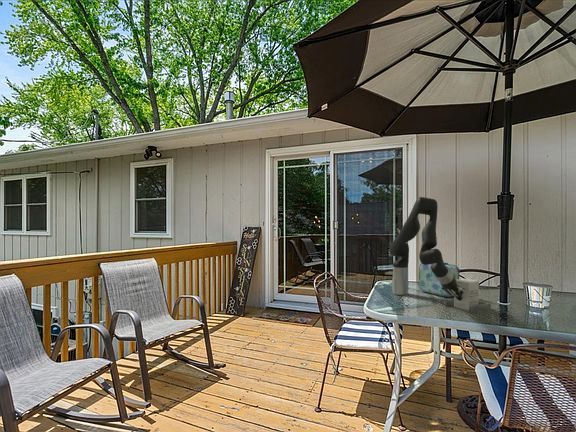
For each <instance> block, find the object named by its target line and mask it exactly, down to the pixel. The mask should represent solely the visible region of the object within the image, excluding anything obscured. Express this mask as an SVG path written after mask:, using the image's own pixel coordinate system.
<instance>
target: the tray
mask: <svg viewBox="0 0 576 432" xmlns="http://www.w3.org/2000/svg"><path fill="white" fill-rule="evenodd" d="M451 306H454V298H451V299H445V300H444V307H451ZM491 309H492V303H491V302H486V301H484V300H483V301H482V300H479V305H476V306H472V307H471V310H470V312H471V313H473V314H476V313H479V312H484V311H488V310H491Z"/></svg>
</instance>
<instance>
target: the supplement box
mask: <svg viewBox="0 0 576 432" xmlns="http://www.w3.org/2000/svg"><path fill="white" fill-rule="evenodd" d="M456 282H457V285H458V286H459V288H464V289H465V290H464V292H463V294H462V300H461V301H459V300H457V299H456V297H455V296H453V299H454V305H453V307H454V308H457V309H461V310H465V311H470V312H471V307H472V306H476V305H479V301H480V299H479V298H480V296H479V295H480V291H479V290H480V281H479V280H474V279H469V278H459V279H456ZM459 292H460V291H459Z"/></svg>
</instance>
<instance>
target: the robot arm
mask: <svg viewBox="0 0 576 432" xmlns="http://www.w3.org/2000/svg"><path fill="white" fill-rule="evenodd" d="M418 215H425V216H429V219H428V221H427V222H426V224H425V225H424V227H423V228H422V231H421V230H420V229H421V224H420V221H419V218H418ZM437 220H438V201H437V200H436V199H433V198H430V197H423V196H420V197H418V198H417V199H416V200H415V202H414V204H413V206H412V208H411V211H410V213H409V215H408V217H407V219H405V222H404V223H403V226H402V227H401V230H399V233H398V234H397V236H396V237H395V238H394V240H393V241H392V242H391V244H390V246H389V253H390V255H391V256H393V257H399V259H397V260H396V261H393V262H392V277H391V293H392V294H393V295H399V296H407V295H408V294H409V263H410V262H409V258H410V246H409V244H408V242H410V241H412V240H413V239H415V238H416V236H417V235H418V234H419V232H420V231H421V246H420V247H421V248H420V251H419V255H418V256H419V257H418V258H419V261H420V264H421V263H422V264H424V265H429V264H432V265H431V270H432V272H433V273H434V275H435V276H436V278H437V280H438V281H439V283H440V284H441V285H442V288H441V289H443V290H444V291H446V292H447V293H449V294H450V295H453V296H452V297H454V296H455V297H456V299H457V300H459V301H461V300H462V294H463V292H464V290H465V289H464V288H459V286H458V285H457V282H456V279H455V278H454V276H453V275H452V274H451V272H450V271H449V270H448V269H447V267H446V266H445V264H444V263H445V262H444V258H443V255H442V252H441V251H440V249H439V248H436V247H437V245H438V241H437V239H438V238H437ZM459 291H460V292H459Z"/></svg>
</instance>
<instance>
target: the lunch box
mask: <svg viewBox="0 0 576 432" xmlns="http://www.w3.org/2000/svg"><path fill="white" fill-rule="evenodd" d="M444 264H445V266H446V267H447V269H448V270H449V271H450V272H451V274H452V275H453V276H454V278H455V279H460V273H461V271H460V269H459V267H458V266H457V265H456V264H449V263H448V262H444ZM431 265H432V264H429V265H424V264H422V263H421V262H420V264H419V267H418V288H419V289H420V291H421V292H425V293H427V294H432V295H435V296H439V297H443V298H449V297H454V296H453V295H450V294H449V293H447V292H446V291H444V290H443V289H441V288H442V285H441V284H440V283H439V281H438V280H437V278H436V276H435V275H434V273H433V272H432V270H431Z"/></svg>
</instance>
